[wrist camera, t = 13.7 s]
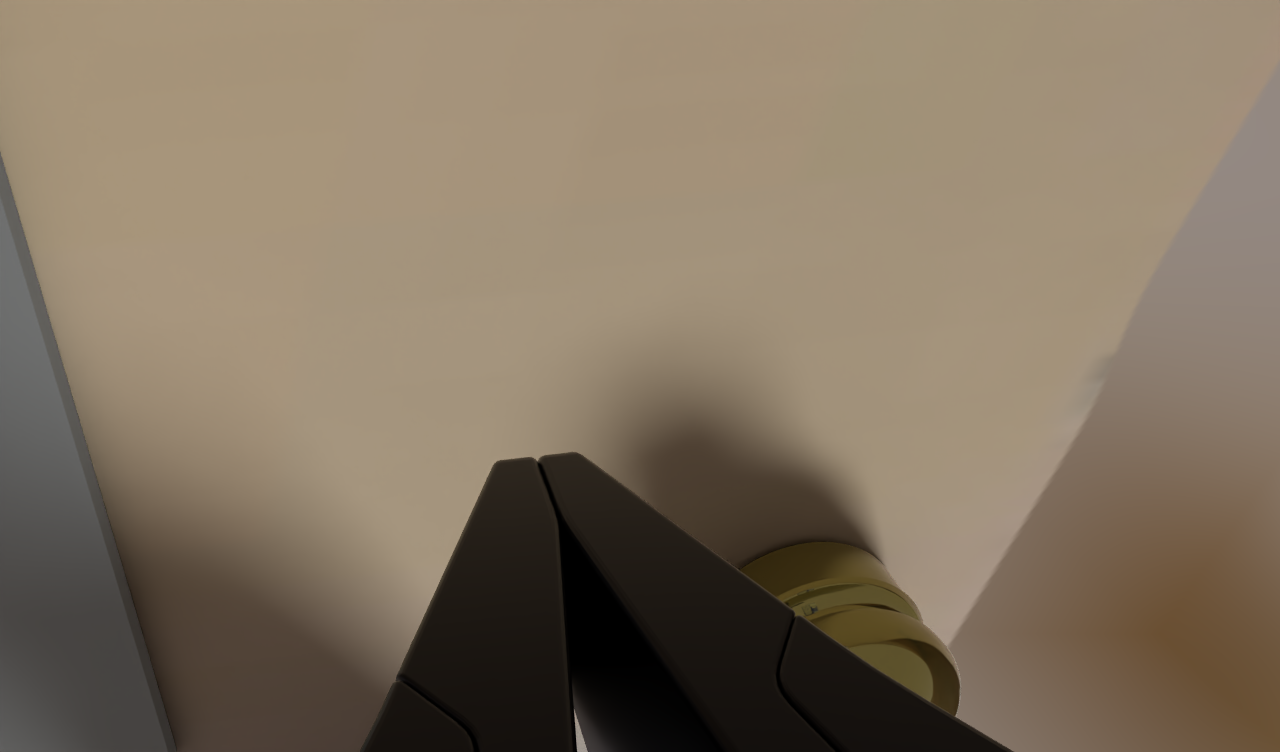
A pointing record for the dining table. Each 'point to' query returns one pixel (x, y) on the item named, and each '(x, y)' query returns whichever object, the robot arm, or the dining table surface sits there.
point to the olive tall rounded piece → (862, 614)
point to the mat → (59, 551)
